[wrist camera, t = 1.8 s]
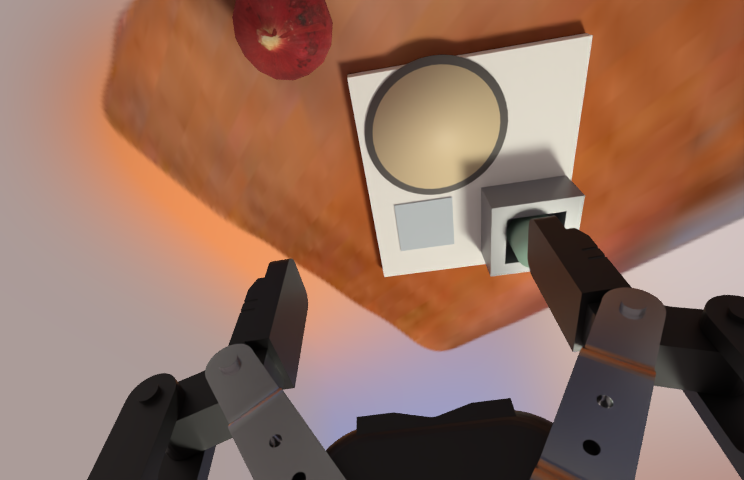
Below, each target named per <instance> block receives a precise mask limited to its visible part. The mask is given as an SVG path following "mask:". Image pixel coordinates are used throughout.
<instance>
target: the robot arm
mask: <svg viewBox="0 0 744 480" xmlns="http://www.w3.org/2000/svg"><path fill="white" fill-rule="evenodd" d="M527 259H528V266H529V269H530V272H531V275H532V277H533V279H534V280H535V282H536V284H537V286H538V288H539V290H540V292H541V293H542V295H543V297H544V299H545V301H546V303H547V305H548V306H549V308H550V310H551V312H552V314H553V316H554V318H555V319H556V321H557V323H558V325H559V327H560V329H561V331H562V333H563V334H564V336H565V338H566V340H567V342H568V344H569V345H570V347H571V349H572V351H573V352H577V351H580V353H579V355H578V358H577V360H576V363H575V366H574V368H573V371H572V374H571V376H570V379H569V382H568V385H567V387H566V390H565V393H564V395H563V398H562V401H561V403H560V406H559V409H558V412H557V414H556V417H555V419H554V422H553V423H552V422H550V421H548V420H546V419H544V418H542V417H539V416H536V415H533V414H531V413H527V412H522V411H516V410H514V407H513V404H512V401H511V399H510V398H508V399H499V400H491V401H484V402H476V403H470V404H468V405H465V406H462V407H460V408H457V409H455V410H452V411H450V412H447V413H444V414H442V415H440V416H436V417H424V416H416V415H408V414H401V413H386V414H378V415H370V416H362V417H357V429H356V430H354V431H352V432H350V433H348V434H346V435H345V436H342V437H341V438H340V439H338V440H337V441H335V442H334V443H333V444H332V445H331V446H330V447H329V448H328V449H327V450H326V451H325V449H324V448H323V446H322V445H321V444H320V442H319V441H318V440H317V438H316V436H315V435H314V434H313V432H312V431H311V429H310V428H309V427H308V425H307V424H306V422H305V421H304V420H303V418H302V417H301V415H300V414H299V412H298V411H297V410H296V408H295V407H294V405H293V404H292V403H291V401H290V400H289V398H288V397H287V396H286V394H285V393H284V391H283V389H290V388H295V382H296V377H297V371H298V365H299V358H300V352H301V346H302V340H303V334H304V328H305V322H306V316H307V310H308V299H307V293H306V290H305V287H304V285H303V282H302V280H301V277H300V275H299V272H298V269H297V267H296V264H295V262H294V260H293V259H285V260H279V261H273V262H270V263H269V266H268V269H267V272H266V275H265V277H264V278H258V279H257V280H256V282H254V284H253V285H252V286H251V287H250V288H249V290H248V292H247V295H246V298H245V303H244V304H243V306H242V309H241V313H240V315H239V317H238V320H237V323H236V326H235V329H234V331H233V334H232V337H231V340H230V343H229V345H228V347H225V348H223V349H222V350H220V351H219V352H218V353H216V354H215V355H214V356H213V357H212V358H211V360H210V361H209V363H208V364H207V366H206V370H205V371H203V372H201V373H198V374H196V375H194V376H191V377H189V378H186V379H184V380H182V381H179V382H177V380H176V379H175V378H174V377H173V376H172V375H170V374H166V373H163V374H157V375H154V376H152V377H150V378H148V379H146V380H144V381H143V382H141V383H140V384H139V385H138V386H137V387H136V388H135V389H134V390H133V391H132V392H131V393H130V395H129V396H128V398H127V400H126V402H125V404H124V406H123V408H122V410H121V412H120V414H119V416H118V418H117V420H116V422H115V424H114V426H113V428H112V430H111V432H110V434H109V436H108V439H107V441H106V442H105V444H104V446H103V448H102V451H101V453H100V455H99V457H98V459H97V461H96V463H95V465H94V467H93V469H92V471H91V473H90V475H89V477H88V479H87V480H207V479H208V475H209V471H210V467H211V463H212V459H213V455H214V451H215V447H216V445H217V444H219V443H222V442H224V441H226V440H228V439H231V438H233V439H234V441H235V443H236V445H237V447H238V449H239V451H240V453H241V455H242V457H243V459H244V461H245V463H246V465H247V467H248V469H249V471H250V473H251V475H252V477H253V479H254V480H635V475H636V470H637V465H638V460H639V455H640V450H641V445H642V440H643V436H644V431H645V426H646V421H647V416H648V411H649V406H650V401H651V396H652V392H653V386H661V387H667V388H675V389H681V390H683V392H684V393H685V395H686V396H687V398H688V399H689V400H690V402H691V404H692V405H693V407H694V408H695V410H696V411H697V413H698V414H699V415H700V417H701V419H702V420H703V422H704V423H705V424H706V426H707V428H708V429H709V431H710V432H711V434H712V435H713V437H714V438H715V440H716V441H717V443H718V444H719V445H720V447H721V449H722V450H723V452H724V453H725V454H726V456H727V458H728V459H729V460H730V462H731V464H732V465H733V466H734V468H735V470H736V471H737V473H738V474H739V476H740V477H741V479H742V480H744V297H741V296H735V295H734V296H733V295H722V296H716V297H713V298H712V299H710V300H709V301H708V302H707V303H706V305H705V307H704V310H702V309H690V308H679V307H669V306H664V305H663V303H662V302H661V301H660V300H659V299H658V298H656V297H655V296H653V295H652V294H650V293H648V292H645V291H643V290H639V289H635V288H632V287H631V286H630V285H629V284H628V283H627V282H626V280H625V279H624V278H623V276H622V275H621V274H620V273H619V272H618V270H617V269H616V268H615V267H614V266H613V264H612V263H611V262H610V261H609V260H608V258H607V257H605V255H604V253H603V252H602V251H601V250H600V249H598V246H597V245H596V244H595V243H594V241H593V240H592V239H591V238H590V236H588V235H587V234H585V233H583V232H581V231H580V230H578V229H576V228H570V229H566V228H565V227H564V226H563V224H562V223H561V222H560V220H559V219H558V218H557V217H556V216H548V217H542V218H535V219H531V220H530V221H529V229H528V253H527Z"/></svg>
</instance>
